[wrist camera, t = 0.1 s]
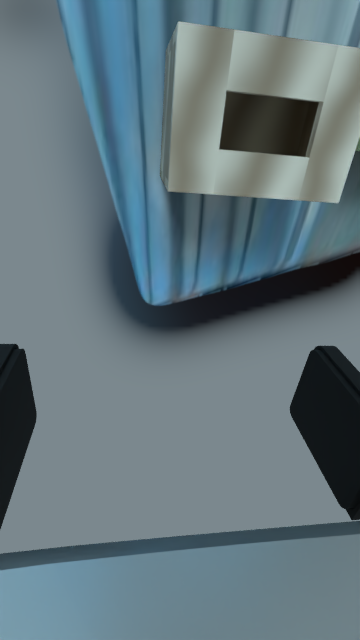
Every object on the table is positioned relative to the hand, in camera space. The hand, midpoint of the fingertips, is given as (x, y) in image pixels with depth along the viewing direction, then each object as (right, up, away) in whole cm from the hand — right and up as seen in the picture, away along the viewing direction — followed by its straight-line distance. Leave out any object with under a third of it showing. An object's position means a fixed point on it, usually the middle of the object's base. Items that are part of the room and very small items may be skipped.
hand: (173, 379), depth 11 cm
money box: (+6, +23, +24) cm, 34 cm away
